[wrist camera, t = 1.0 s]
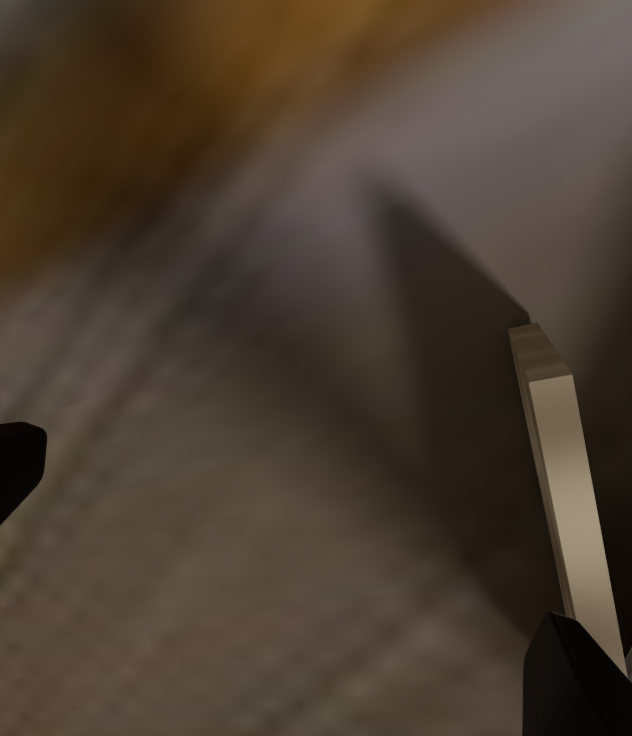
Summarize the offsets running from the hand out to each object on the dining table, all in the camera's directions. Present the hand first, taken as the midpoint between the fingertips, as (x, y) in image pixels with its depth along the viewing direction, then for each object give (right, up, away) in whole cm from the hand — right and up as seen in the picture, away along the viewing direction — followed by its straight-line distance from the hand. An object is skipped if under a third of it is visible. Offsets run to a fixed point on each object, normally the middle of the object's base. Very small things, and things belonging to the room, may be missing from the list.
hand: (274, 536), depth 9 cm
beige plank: (+10, -3, +12) cm, 16 cm away
